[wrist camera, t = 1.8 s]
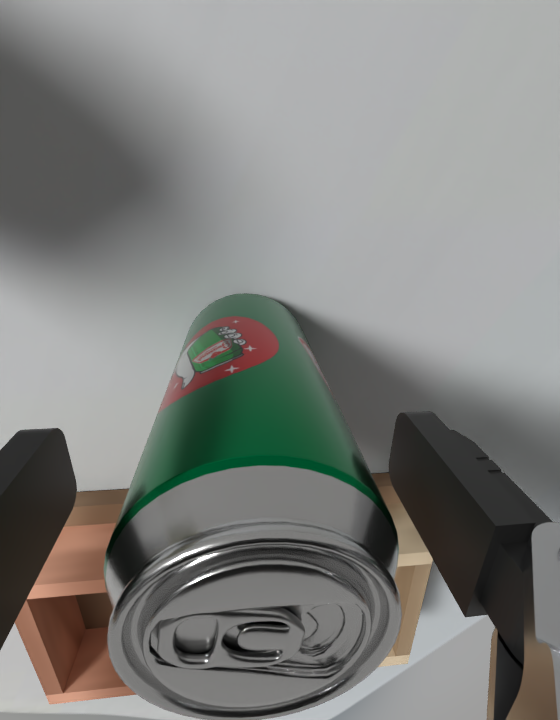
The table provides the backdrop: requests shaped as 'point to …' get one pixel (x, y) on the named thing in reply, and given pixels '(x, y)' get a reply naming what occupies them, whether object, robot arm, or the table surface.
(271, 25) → the table surface
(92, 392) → the table surface
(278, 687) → the soda can
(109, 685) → the can rack
